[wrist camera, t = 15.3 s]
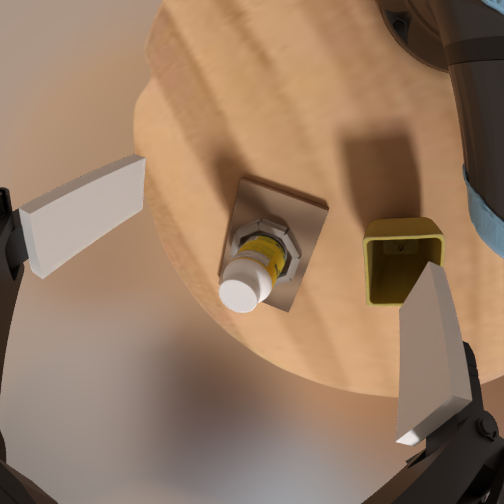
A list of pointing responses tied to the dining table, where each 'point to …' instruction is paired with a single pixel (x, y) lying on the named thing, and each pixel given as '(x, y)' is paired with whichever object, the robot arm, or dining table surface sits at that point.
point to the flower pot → (399, 257)
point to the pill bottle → (252, 272)
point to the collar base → (276, 232)
